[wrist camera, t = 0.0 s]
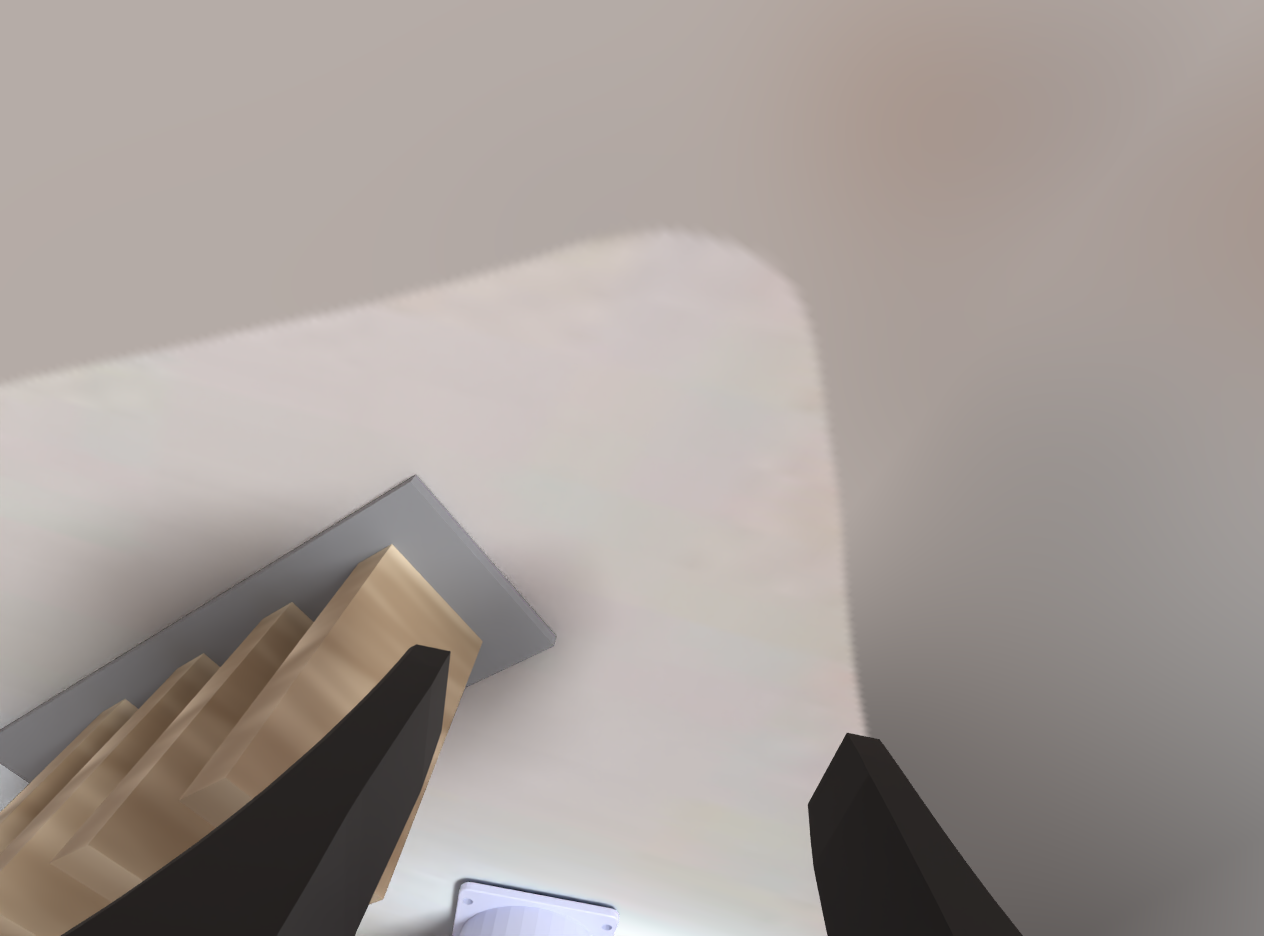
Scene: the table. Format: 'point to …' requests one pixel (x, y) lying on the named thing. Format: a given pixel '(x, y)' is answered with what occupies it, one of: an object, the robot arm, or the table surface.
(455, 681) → the maple domino
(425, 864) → the table surface
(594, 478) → the table surface
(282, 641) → the maple domino
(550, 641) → the mat
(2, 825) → the maple domino
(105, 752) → the maple domino
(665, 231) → the table surface
